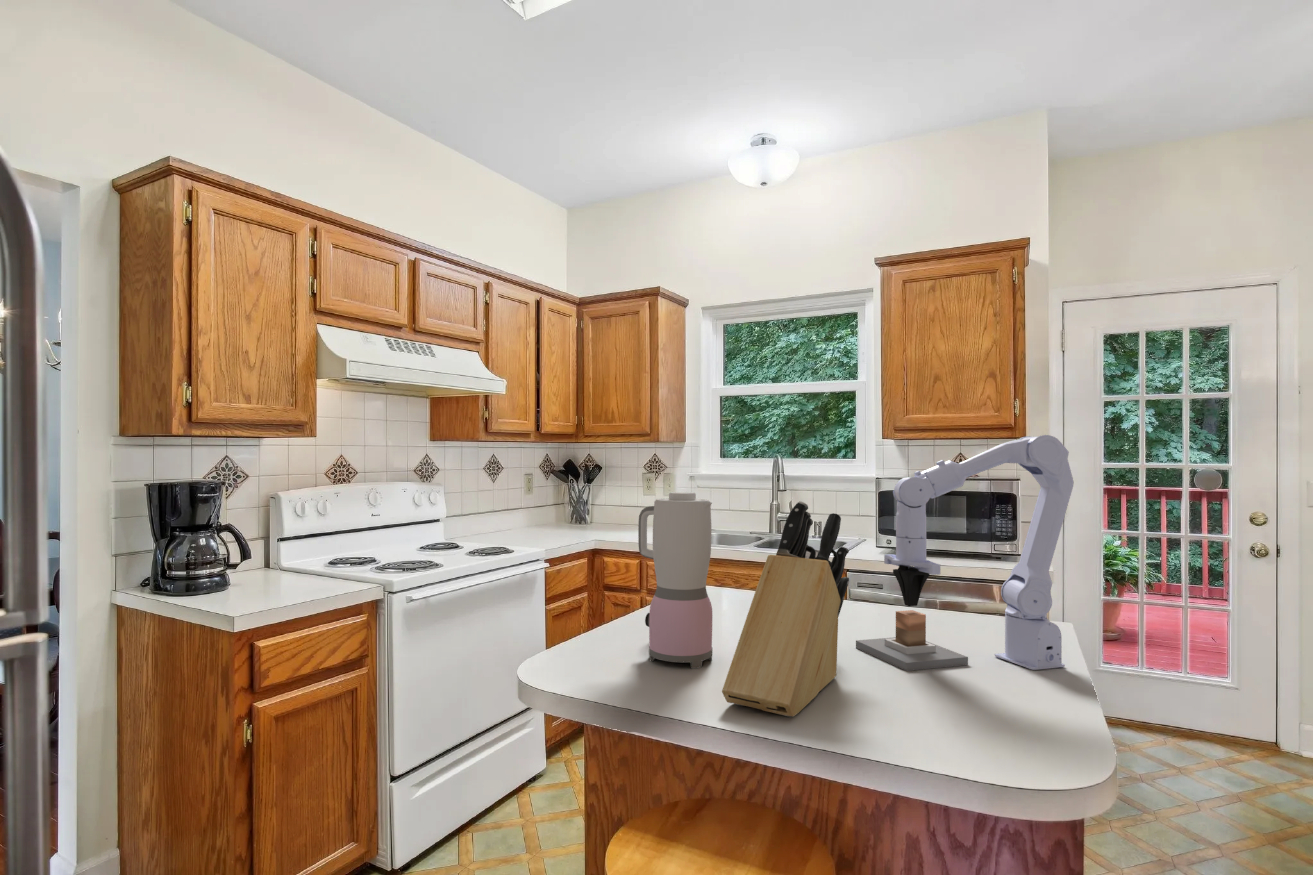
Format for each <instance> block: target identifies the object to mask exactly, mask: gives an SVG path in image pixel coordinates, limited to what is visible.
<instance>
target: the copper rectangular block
mask: <svg viewBox="0 0 1313 875" xmlns="http://www.w3.org/2000/svg"><path fill="white" fill-rule="evenodd" d="M926 616H927V615H926V614H925V613H922V612H919V611H916V610H914V609H912V610H897V611H895V637H896V642H897V643H899V644H902V645H904V646H907V647H910V646H922V645H926V641H927V639H926V635H927V625H926V624H927V623H926V622H927V619H926V618H927V617H926Z"/></svg>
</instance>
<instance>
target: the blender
mask: <svg viewBox="0 0 1313 875" xmlns="http://www.w3.org/2000/svg"><path fill="white" fill-rule="evenodd" d="M696 495H697V494H696V493H695V492H692V491H691V492H690V491H688V492H687V491H672V492H669V493H668V497H667V498H665V497H662V498H656V499H655V500H654V501H653V502H654V504H653V505H652V506H651V505H649V506H645V507H644V508H643V509H642V510H641V511H640V513H639V516H638V529H637V530H638V538H637V539H638V540H637V541H638V551H639V553H640V555H641V556H642V557H643V558H644V557H645V558H646V559H647V558H648V559H650V560H653V564H654V574H655V578H656V588H655V589H656V590H655V591H654V592H655V593H654V595H653V597H652V599H651V602H650V606H649V612H647V613H646V616H645V619H644V623H645V626H647V628H648V630H649V633H648V635H649V636H648V638H649V641H648V642H649V645H648V658H649V661H650V662H654V661H655V659H657V660H660V661H663V662H664V661H665V662H669V663H670V662H671V663H690V668H691V669H699V668H701V667H703V666H702V665H703V661H705V660H708V661H712V659H713V605H712V601H711V599H710V597H709V594H708V591H707V578H708V573H709V568H710V567H709V566H710V562H711V554H712V553H711V552H712V508H711V507H712V504H713V502H711V501H710V500H709V499H704V498H696ZM651 515H652V516H653V517H652V518H653V519H652V549H650V548H648V517H649V516H651Z"/></svg>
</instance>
